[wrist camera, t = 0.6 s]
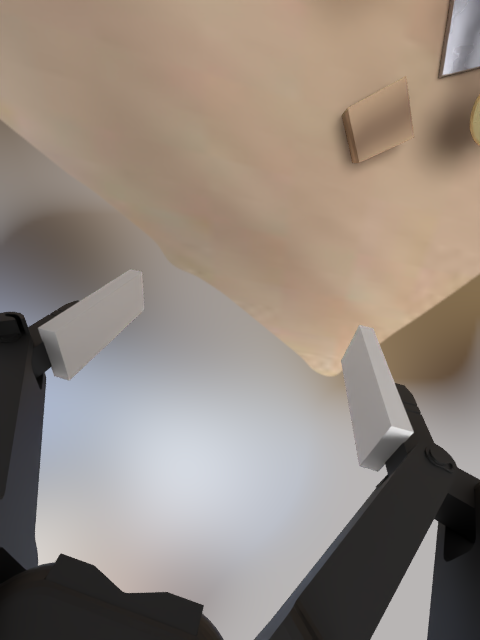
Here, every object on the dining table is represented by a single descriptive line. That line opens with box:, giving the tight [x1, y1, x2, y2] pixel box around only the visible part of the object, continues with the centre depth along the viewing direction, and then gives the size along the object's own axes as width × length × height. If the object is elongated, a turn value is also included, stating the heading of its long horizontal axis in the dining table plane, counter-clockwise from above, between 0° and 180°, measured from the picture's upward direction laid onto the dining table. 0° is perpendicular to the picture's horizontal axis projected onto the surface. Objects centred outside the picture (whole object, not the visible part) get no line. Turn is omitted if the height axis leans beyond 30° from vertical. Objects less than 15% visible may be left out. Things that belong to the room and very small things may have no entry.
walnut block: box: [342, 76, 414, 163], centre depth 27 cm, size 5×5×5 cm
